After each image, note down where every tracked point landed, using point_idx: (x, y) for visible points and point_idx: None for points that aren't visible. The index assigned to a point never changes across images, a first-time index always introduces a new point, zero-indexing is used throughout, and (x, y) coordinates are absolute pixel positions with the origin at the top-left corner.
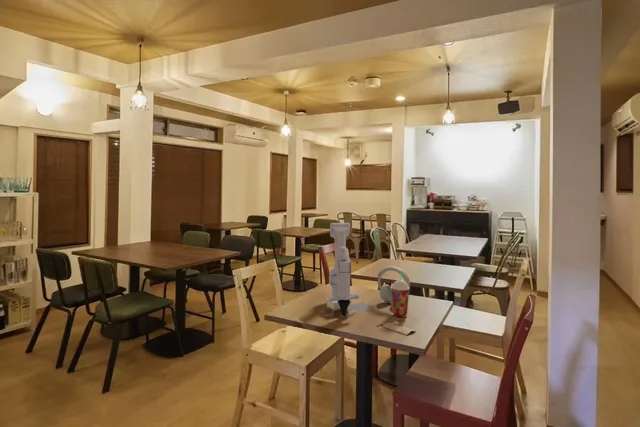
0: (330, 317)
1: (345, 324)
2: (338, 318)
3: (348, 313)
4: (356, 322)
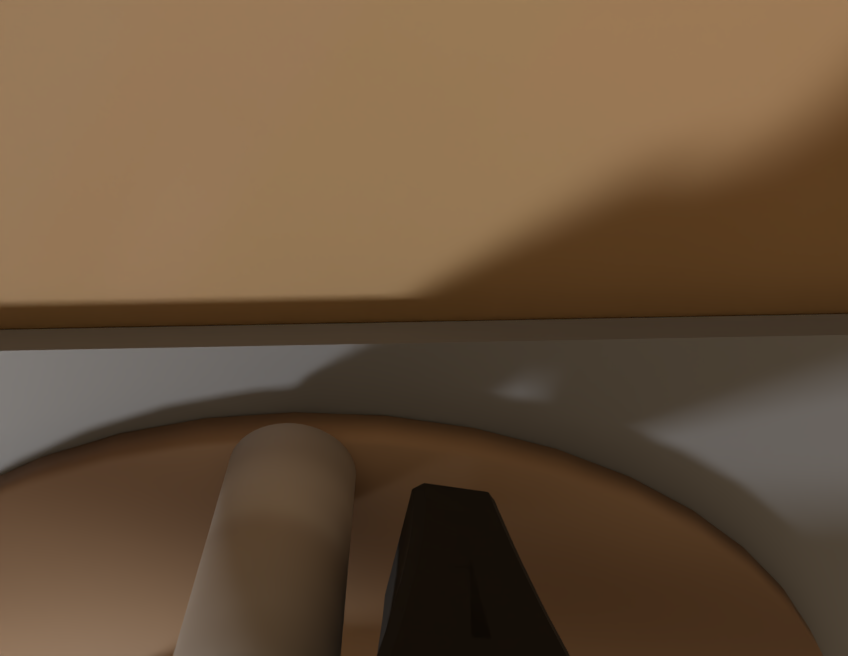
0: (769, 645)
1: (650, 61)
2: (632, 501)
3: (235, 545)
4: (111, 17)
